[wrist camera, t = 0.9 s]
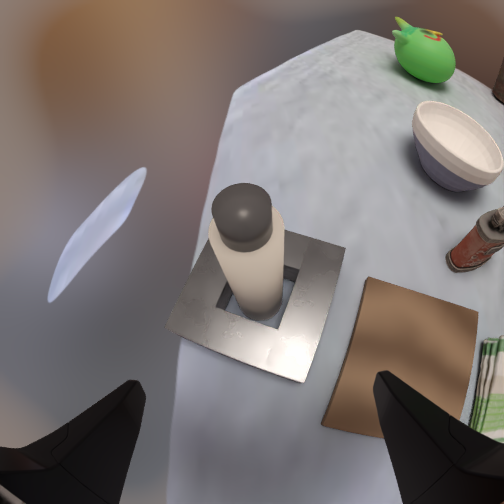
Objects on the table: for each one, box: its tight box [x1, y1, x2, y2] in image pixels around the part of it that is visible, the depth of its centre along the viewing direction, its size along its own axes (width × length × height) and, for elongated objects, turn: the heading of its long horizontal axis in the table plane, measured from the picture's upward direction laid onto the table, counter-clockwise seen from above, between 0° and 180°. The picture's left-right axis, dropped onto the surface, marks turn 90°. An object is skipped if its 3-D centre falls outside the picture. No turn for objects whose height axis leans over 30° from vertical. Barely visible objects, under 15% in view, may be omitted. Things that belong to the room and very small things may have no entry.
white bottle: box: [209, 183, 284, 321], centre depth 19 cm, size 4×4×14 cm
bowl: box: [412, 101, 504, 192], centre depth 27 cm, size 14×14×8 cm
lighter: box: [446, 206, 504, 273], centre depth 20 cm, size 8×3×10 cm, turn 99°
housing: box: [165, 230, 346, 383], centre depth 24 cm, size 12×12×3 cm
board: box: [321, 277, 478, 438], centre depth 20 cm, size 14×14×1 cm
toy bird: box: [392, 17, 455, 83], centre depth 39 cm, size 18×17×15 cm
